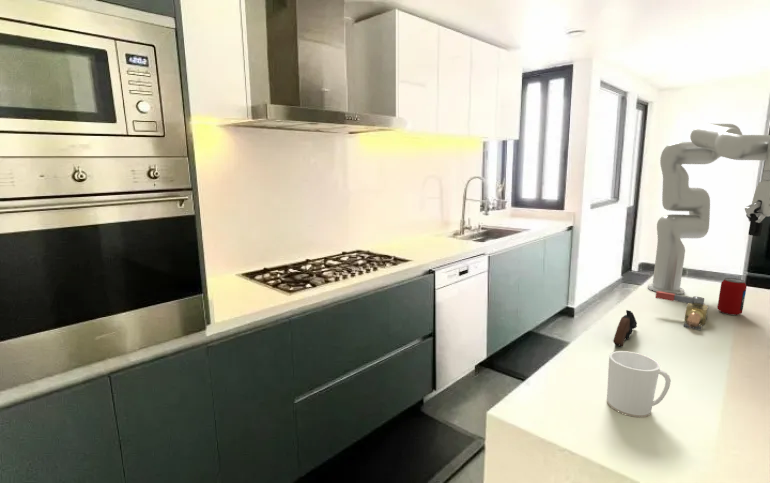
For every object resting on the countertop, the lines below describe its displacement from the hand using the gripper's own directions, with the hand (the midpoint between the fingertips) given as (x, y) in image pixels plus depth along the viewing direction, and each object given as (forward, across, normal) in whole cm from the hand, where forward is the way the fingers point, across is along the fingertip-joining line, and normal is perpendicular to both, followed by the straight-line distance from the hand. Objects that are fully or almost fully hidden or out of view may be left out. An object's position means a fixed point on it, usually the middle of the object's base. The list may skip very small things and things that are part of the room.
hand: (769, 235), depth 121 cm
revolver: (+31, +43, +4) cm, 53 cm away
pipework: (+30, +11, -10) cm, 33 cm away
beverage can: (+30, -8, -16) cm, 35 cm away
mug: (+30, +65, +38) cm, 81 cm away
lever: (+25, +14, -13) cm, 31 cm away
